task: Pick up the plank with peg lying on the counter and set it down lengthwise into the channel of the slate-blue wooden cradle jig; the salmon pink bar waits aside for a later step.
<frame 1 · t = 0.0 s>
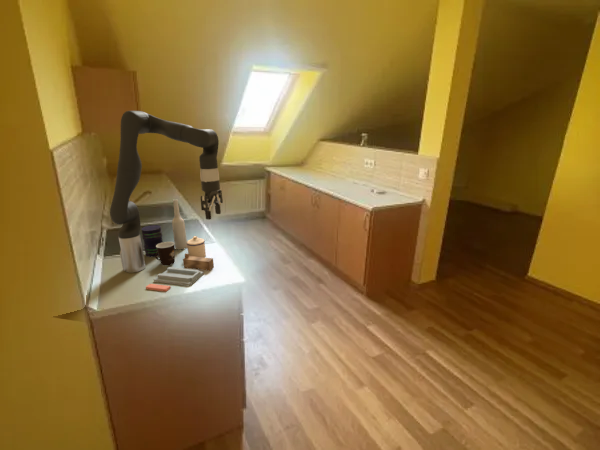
hand: (213, 216, 141), 29 cm above the counter, fingers open, 8 cm apart
coffee mug: (165, 264, 165), on the counter
storage jar: (155, 254, 179), on the counter
bottle: (181, 248, 187), on the counter
salmon pink bar: (158, 289, 141), on the counter
teacup with lid: (195, 257, 174), on the counter
cradle jig: (179, 277, 150), on the counter
plank with peg: (199, 268, 161), on the counter
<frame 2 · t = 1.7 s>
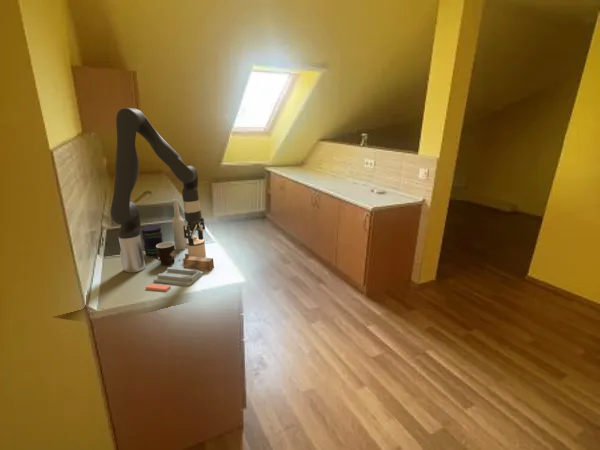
hand: (196, 242, 157), 13 cm above the counter, fingers open, 8 cm apart
nothing on the counter moved.
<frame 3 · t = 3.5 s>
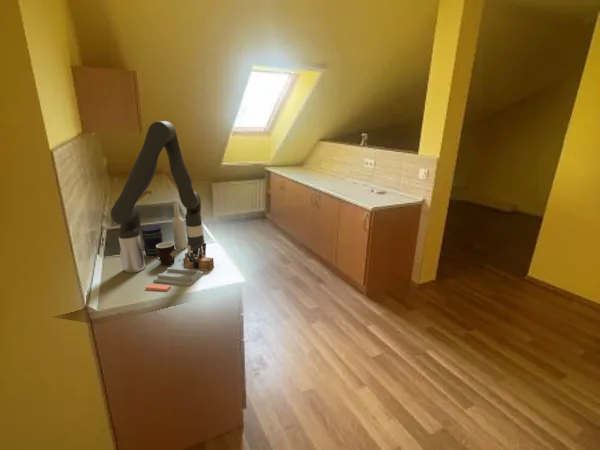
hand: (198, 266, 161), 1 cm above the counter, fingers closed on plank with peg, 4 cm apart
plank with peg: (199, 267, 161), on the counter, touching gripper
everything else where it was.
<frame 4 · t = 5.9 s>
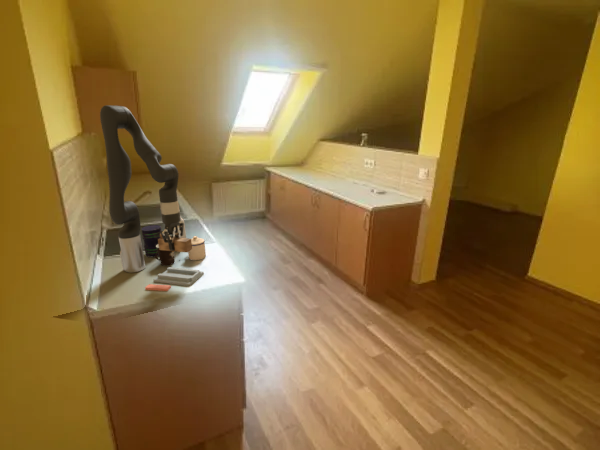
hand: (175, 248, 146), 15 cm above the counter, fingers closed on plank with peg, 4 cm apart
plank with peg: (175, 249, 146), point 14 cm above the counter, touching gripper
everything else where it was.
when the fingers open (3 cm above the counter, at t = 8.2 s): plank with peg drops 1 cm, resting on cradle jig.
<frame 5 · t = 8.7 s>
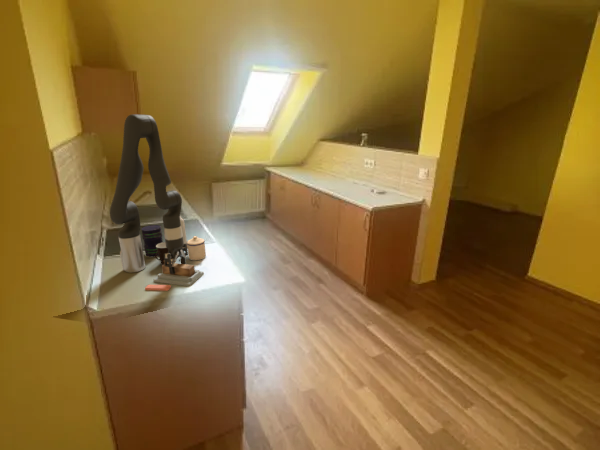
hand: (178, 269, 149), 4 cm above the counter, fingers open, 8 cm apart
plank with peg: (179, 275, 150), point 1 cm above the counter, touching cradle jig
everything else where it was.
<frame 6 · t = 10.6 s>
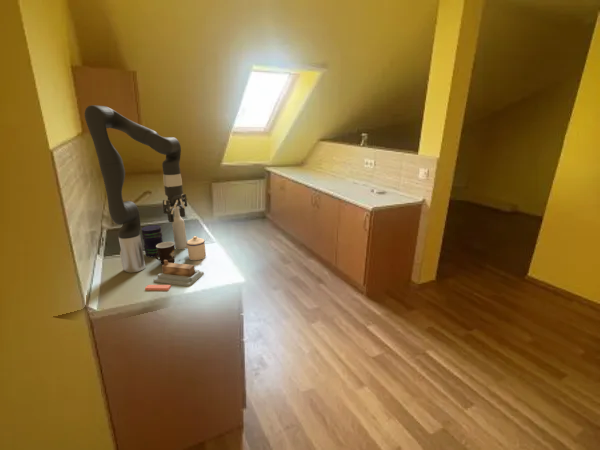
hand: (177, 219, 149), 26 cm above the counter, fingers open, 8 cm apart
nothing on the counter moved.
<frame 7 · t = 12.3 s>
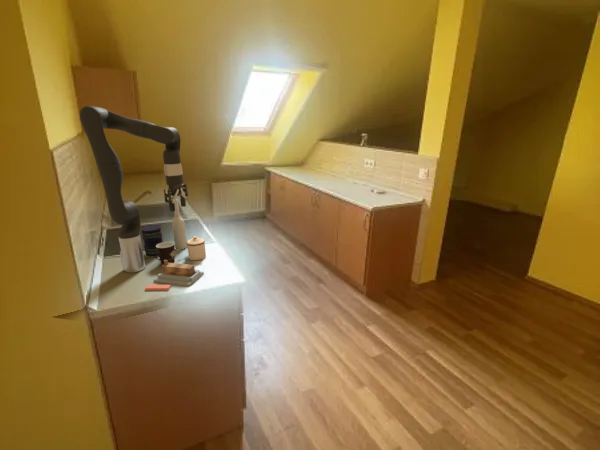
hand: (178, 208, 151), 30 cm above the counter, fingers open, 8 cm apart
nothing on the counter moved.
at the end: plank with peg 0.1 cm off-centre on the cradle jig, point 1.2 cm above the cradle jig's base; plank with peg tilted 0° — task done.
